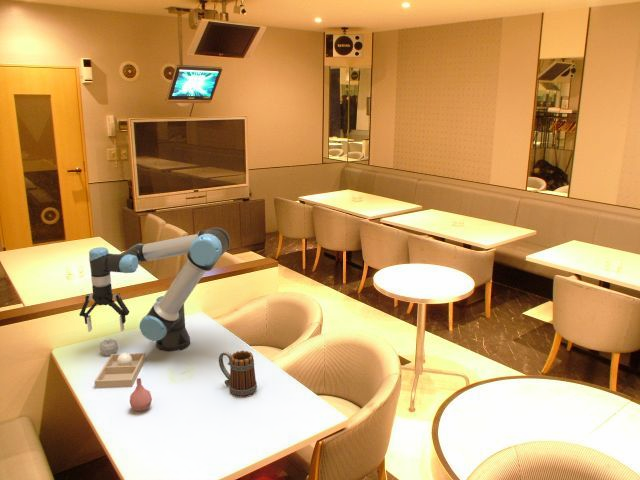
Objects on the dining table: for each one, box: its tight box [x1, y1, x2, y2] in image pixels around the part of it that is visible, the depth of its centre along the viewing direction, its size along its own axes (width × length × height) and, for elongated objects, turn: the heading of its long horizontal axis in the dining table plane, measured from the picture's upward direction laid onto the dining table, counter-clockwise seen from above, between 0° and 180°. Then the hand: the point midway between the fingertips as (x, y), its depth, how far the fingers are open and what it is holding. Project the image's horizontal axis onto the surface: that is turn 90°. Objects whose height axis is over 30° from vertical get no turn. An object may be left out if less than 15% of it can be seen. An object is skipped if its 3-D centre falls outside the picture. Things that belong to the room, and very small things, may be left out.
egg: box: [117, 352, 132, 366], centre depth 227 cm, size 6×6×6 cm
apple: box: [99, 338, 119, 357], centre depth 239 cm, size 8×8×7 cm
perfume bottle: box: [129, 377, 153, 412], centre depth 198 cm, size 8×8×12 cm
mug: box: [218, 350, 258, 398], centre depth 210 cm, size 16×11×15 cm
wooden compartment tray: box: [94, 352, 147, 389], centre depth 223 cm, size 14×22×4 cm, turn 4°
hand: (106, 330), depth 237 cm, fingers open, 13 cm apart
